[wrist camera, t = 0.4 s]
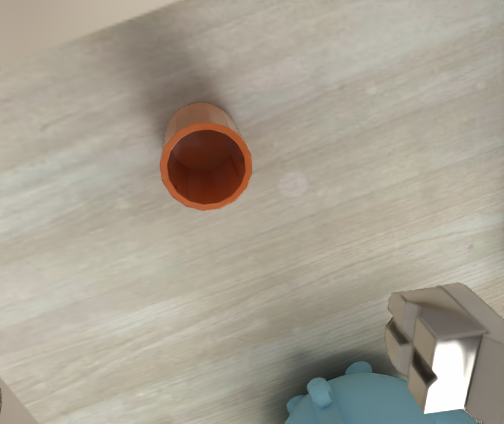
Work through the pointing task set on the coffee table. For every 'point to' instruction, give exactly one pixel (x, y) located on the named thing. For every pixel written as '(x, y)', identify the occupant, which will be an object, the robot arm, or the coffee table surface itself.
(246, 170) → the cup
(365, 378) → the teapot
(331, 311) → the coffee table surface
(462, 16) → the coffee table surface
